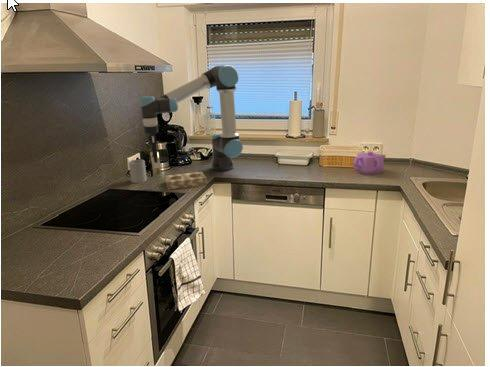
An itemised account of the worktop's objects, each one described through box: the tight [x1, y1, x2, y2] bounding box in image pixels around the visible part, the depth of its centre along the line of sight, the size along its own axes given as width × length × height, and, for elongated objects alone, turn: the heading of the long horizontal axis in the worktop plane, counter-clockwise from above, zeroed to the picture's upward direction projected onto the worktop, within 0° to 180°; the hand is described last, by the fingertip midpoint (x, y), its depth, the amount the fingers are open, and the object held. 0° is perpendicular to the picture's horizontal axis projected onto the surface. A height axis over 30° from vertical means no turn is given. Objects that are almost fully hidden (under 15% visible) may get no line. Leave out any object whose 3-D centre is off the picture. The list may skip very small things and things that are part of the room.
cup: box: [128, 159, 148, 184], centre depth 210 cm, size 9×9×12 cm
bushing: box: [150, 150, 162, 175], centre depth 197 cm, size 4×4×12 cm
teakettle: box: [353, 151, 387, 176], centre depth 213 cm, size 17×17×12 cm
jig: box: [164, 171, 208, 190], centre depth 203 cm, size 22×14×4 cm, turn 107°
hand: (156, 166), depth 198 cm, fingers closed on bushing, 4 cm apart
